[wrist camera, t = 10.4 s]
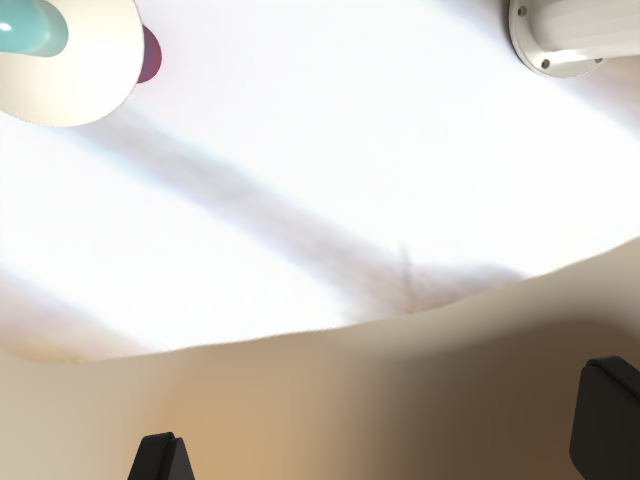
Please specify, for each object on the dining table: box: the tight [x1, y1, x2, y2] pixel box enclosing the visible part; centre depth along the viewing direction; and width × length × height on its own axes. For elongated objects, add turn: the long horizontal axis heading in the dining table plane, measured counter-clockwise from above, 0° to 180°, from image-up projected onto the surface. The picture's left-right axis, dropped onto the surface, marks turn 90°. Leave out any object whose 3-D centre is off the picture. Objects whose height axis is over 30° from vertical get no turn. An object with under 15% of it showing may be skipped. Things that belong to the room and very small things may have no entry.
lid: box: [0, 0, 144, 127], centre depth 19 cm, size 10×10×6 cm
